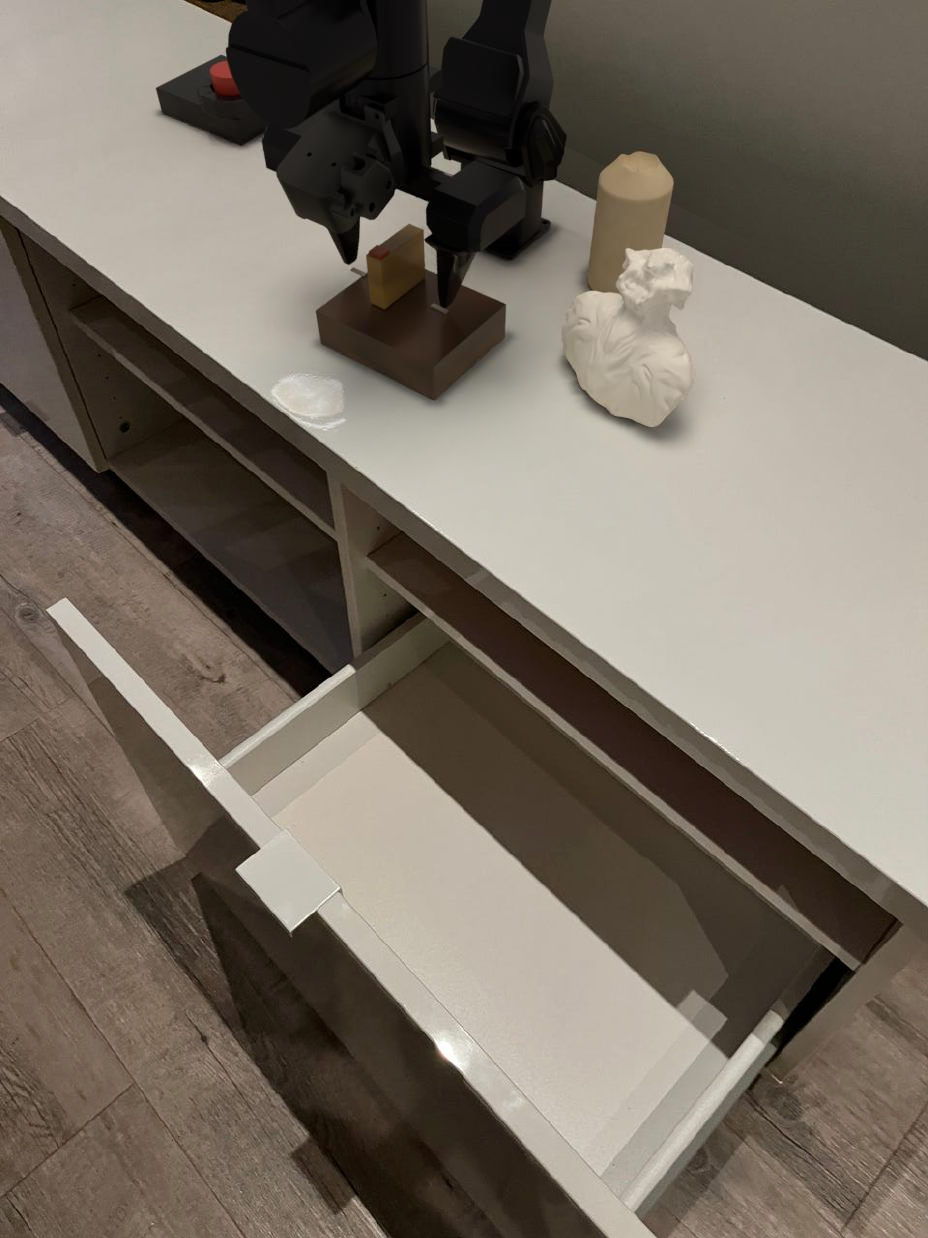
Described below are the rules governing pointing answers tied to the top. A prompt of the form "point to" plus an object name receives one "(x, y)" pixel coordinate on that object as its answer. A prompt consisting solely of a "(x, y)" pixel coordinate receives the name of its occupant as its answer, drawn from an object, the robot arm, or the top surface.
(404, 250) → the thumbturn
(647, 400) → the bust
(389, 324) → the plate
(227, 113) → the push button box
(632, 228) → the candle
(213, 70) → the button
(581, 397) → the top surface
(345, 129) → the robot arm
